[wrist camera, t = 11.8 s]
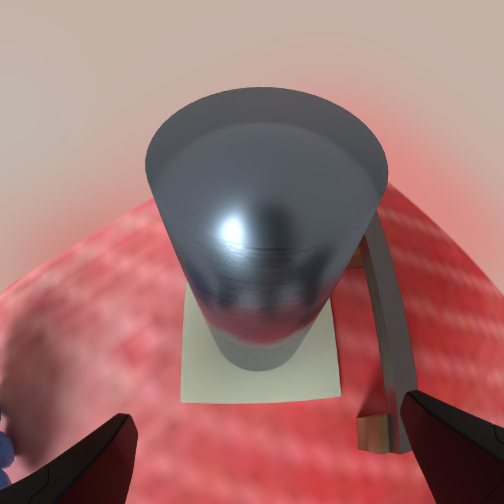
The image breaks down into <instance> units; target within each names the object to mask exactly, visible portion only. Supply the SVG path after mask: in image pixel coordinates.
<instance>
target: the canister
mask: <svg viewBox="0 0 504 504" xmlns="http://www.w3.org/2000/svg"><path fill="white" fill-rule="evenodd" d="M145 166H146V167H145V170H146V175H147V179H148V183H149V186H150V188H151V191H152V194H153V197H154V199H155V202H156V205H157V207H158V210H159V212H160V215H161V218H162V220H163V223H164V225H165V228H166V230H167V233H168V235H169V238H170V240H171V243H172V245H173V248H174V250H175V253H176V255H177V258H178V260H179V262H180V265H181V267H182V269H183V272H184V274H185V276H186V279H187V281H188V283H189V286H190V288H191V290H192V292H193V295H194V297H195V299H196V301H197V304H198V306H199V308H200V310H201V312H202V315H203V317H204V319H205V321H206V323H207V325H208V328H209V330H210V332H211V334H212V336H213V338H214V340H215V342H216V344H217V346H218V348H219V350H220V352H221V353H222V354H223V356H224V357H225V358H226V359H227V360H228V361H229V362H231V363H232V364H234V365H235V366H237V367H239V368H242V369H244V370H248V371H255V372H262V371H268V370H272V369H275V368H277V367H279V366H281V365H283V364H284V363H286V362H287V361H288V360H289V359H290V358H291V357H292V356H293V355H294V354H295V352H296V351H297V349H298V348H299V346H300V345H301V343H302V341H303V340H304V338H305V337H306V335H307V333H308V332H309V330H310V329H311V327H312V325H313V324H314V322H315V321H316V319H317V317H318V316H319V314H320V312H321V311H322V309H323V307H324V306H325V304H326V302H327V300H328V299H329V297H330V295H331V294H332V292H333V290H334V288H335V287H336V285H337V283H338V281H339V280H340V278H341V276H342V274H343V272H344V271H345V269H346V267H347V265H348V263H349V261H350V260H351V258H352V256H353V254H354V252H355V250H356V248H357V247H358V245H359V243H360V241H361V239H362V237H363V235H364V233H365V231H366V229H367V227H368V225H369V223H370V221H371V219H372V217H373V215H374V213H375V211H376V209H377V207H378V205H379V203H380V201H381V199H382V196H383V194H384V192H385V189H386V185H387V180H388V164H387V160H386V156H385V153H384V151H383V149H382V146H381V144H380V143H379V141H378V140H377V138H376V137H375V135H374V134H373V133H372V132H371V130H370V129H369V128H368V127H367V126H366V125H365V124H364V123H363V122H362V121H360V120H359V119H358V118H357V117H356V116H354V115H353V114H352V113H350V112H349V111H347V110H345V109H344V108H342V107H340V106H338V105H336V104H334V103H332V102H330V101H328V100H326V99H323V98H321V97H318V96H315V95H312V94H308V93H304V92H300V91H296V90H290V89H284V88H273V87H252V88H241V89H233V90H228V91H224V92H220V93H216V94H213V95H209V96H207V97H204V98H202V99H199V100H197V101H195V102H193V103H191V104H189V105H187V106H185V107H184V108H182V109H180V110H179V111H177V112H176V113H175V114H173V115H172V116H171V117H170V118H169V119H168V120H167V121H165V122H164V123H163V124H162V126H161V127H160V128H159V129H158V131H157V132H156V133H155V135H154V137H153V138H152V140H151V142H150V145H149V147H148V150H147V154H146V159H145Z"/></svg>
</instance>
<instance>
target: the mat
mask: <svg viewBox="0 0 504 504" xmlns="http://www.w3.org/2000/svg"><path fill="white" fill-rule="evenodd" d="M339 396H341V389H340V378H339V368H338V358H337V349H336V340H335V332H334V324H333V317H332V309H331V302H330V297H329V299H328V300H327V302H326V304H325V306H324V307H323V309H322V311H321V312H320V314H319V316H318V317H317V319H316V321H315V322H314V324H313V325H312V327H311V329H310V330H309V332H308V333H307V335H306V337H305V338H304V340H303V341H302V343H301V345H300V346H299V348H298V349H297V351H296V352H295V354H294V355H293V356H292V357H291V358H290V359H289V360H288V361H287V362H286V363H284V364H283V365H281V366H279V367H277V368H275V369H272V370H268V371H262V372H255V371H248V370H244V369H242V368H239V367H237V366H235V365H234V364H232V363H231V362H229V361H228V360H227V359H226V358H225V357H224V356H223V354H222V353H221V352H220V350H219V348H218V346H217V344H216V342H215V340H214V338H213V336H212V334H211V332H210V330H209V328H208V325H207V323H206V321H205V319H204V317H203V315H202V312H201V310H200V308H199V306H198V304H197V301H196V299H195V297H194V295H193V292H192V290H191V288H190V286H189V283H188V281H187V280H186V293H185V306H184V322H183V339H182V361H181V394H180V402H187V403H213V404H250V403H276V402H292V401H304V400H315V399H324V398H333V397H339Z"/></svg>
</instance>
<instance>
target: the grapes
mask: <svg viewBox="0 0 504 504" xmlns="http://www.w3.org/2000/svg"><path fill="white" fill-rule="evenodd" d="M1 415H2V413H1V407H0V420H1ZM14 454H15V450H14V446H13V443H12V442H11V440H10V438H9V437H7V436H6V435H5V434H4V433H3V432H2V431H0V490H1V489H3V488H5V487H7V486H9V485H12V483H11V481H10V479H9V477H8V475H7V473H5V472H4V471H3V470H2V469H4V468H7V467H10V465H11V464H12V462H13V461H14ZM1 468H2V469H1Z"/></svg>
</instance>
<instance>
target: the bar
mask: <svg viewBox="0 0 504 504" xmlns="http://www.w3.org/2000/svg"><path fill="white" fill-rule="evenodd" d="M359 248H360V252H361V257H362V261H363V265H364V270H365V274H366V279H367V283H368V288H369V293H370V298H371V303H372V308H373V314H374V319H375V325H376V331H377V337H378V343H379V350H380V357H381V364H382V372H383V380H384V388H385V398H386V409H387V421H388V436H389V453H395V454H403V453H406V452H409V451H412V448H411V446H410V443H409V440H408V437H407V434H406V431H405V428H404V425H403V422H402V419H401V416H400V407H401V404H402V401H403V398H404V395H405V393H406V392H408V391H412V390H418V388H417V380H416V373H415V366H414V359H413V353H412V347H411V342H410V336H409V331H408V326H407V321H406V316H405V311H404V307H403V302H402V298H401V294H400V290H399V286H398V282H397V278H396V274H395V270H394V266H393V263H392V259H391V256H390V252H389V249H388V245H387V242H386V239H385V235H384V232H383V229H382V226H381V223H380V220H379V217H378V214H377V211H375V213H374V215H373V217H372V219H371V221H370V223H369V225H368V227H367V229H366V231H365V233H364V235H363V237H362V239H361V241H360V243H359Z"/></svg>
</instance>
